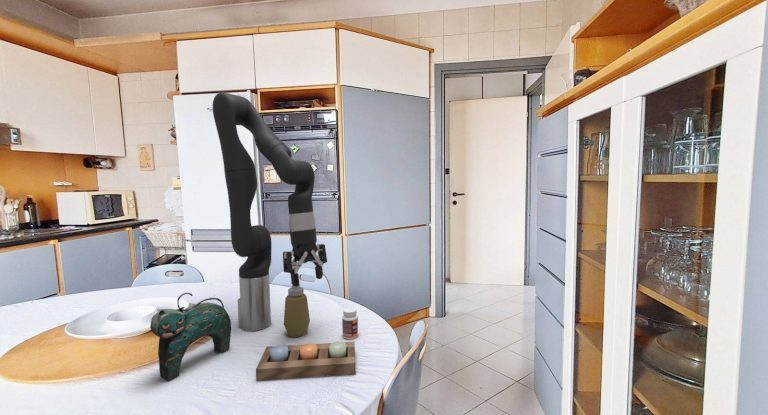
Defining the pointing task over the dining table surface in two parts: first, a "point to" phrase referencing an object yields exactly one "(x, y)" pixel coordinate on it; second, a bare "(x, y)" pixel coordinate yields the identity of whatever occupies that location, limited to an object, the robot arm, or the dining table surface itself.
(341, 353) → the sage green button
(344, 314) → the pill bottle
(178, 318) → the ceramic cat
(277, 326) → the dining table surface
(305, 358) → the orange button
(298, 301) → the squeeze bottle
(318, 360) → the walnut button panel
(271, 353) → the slate blue button
